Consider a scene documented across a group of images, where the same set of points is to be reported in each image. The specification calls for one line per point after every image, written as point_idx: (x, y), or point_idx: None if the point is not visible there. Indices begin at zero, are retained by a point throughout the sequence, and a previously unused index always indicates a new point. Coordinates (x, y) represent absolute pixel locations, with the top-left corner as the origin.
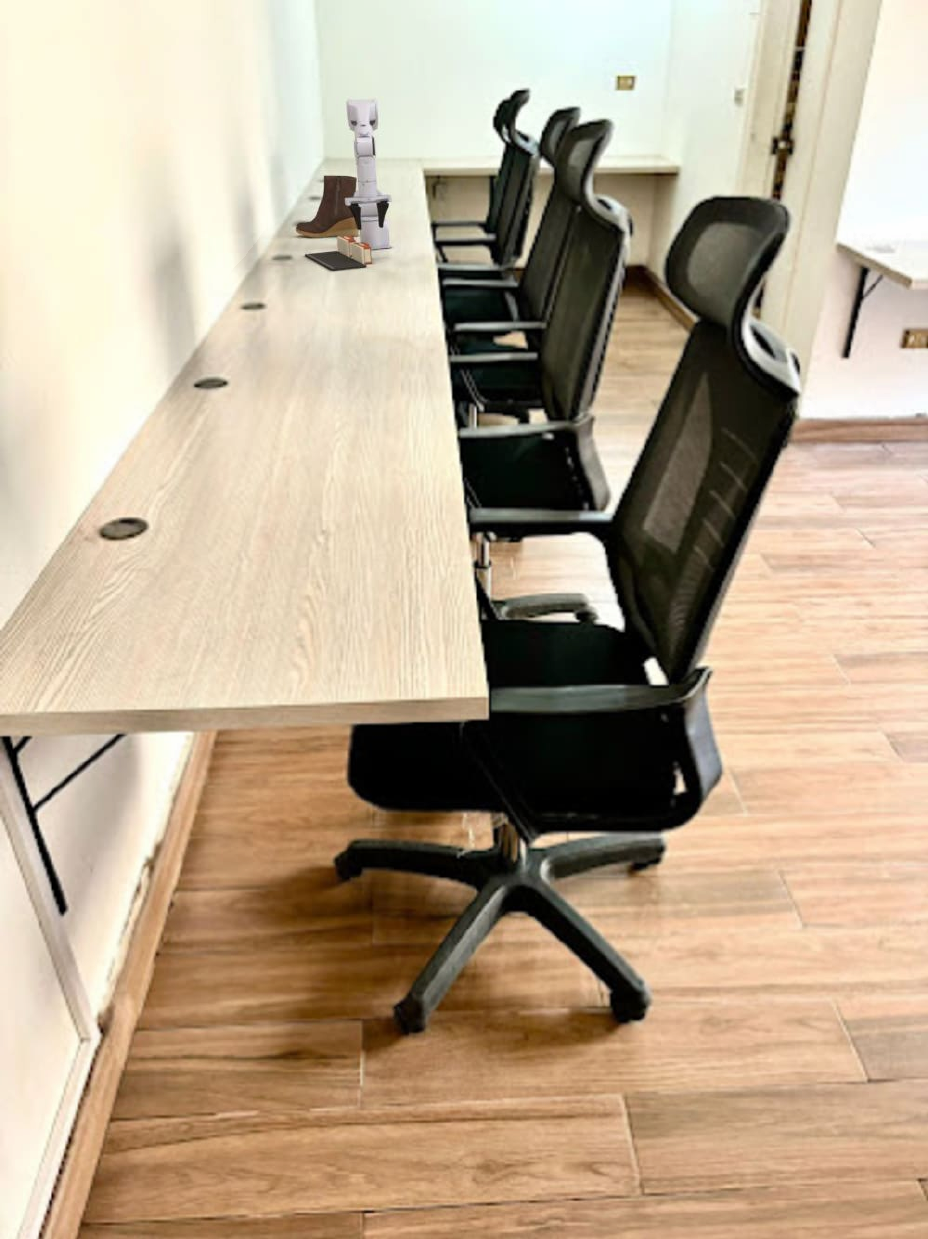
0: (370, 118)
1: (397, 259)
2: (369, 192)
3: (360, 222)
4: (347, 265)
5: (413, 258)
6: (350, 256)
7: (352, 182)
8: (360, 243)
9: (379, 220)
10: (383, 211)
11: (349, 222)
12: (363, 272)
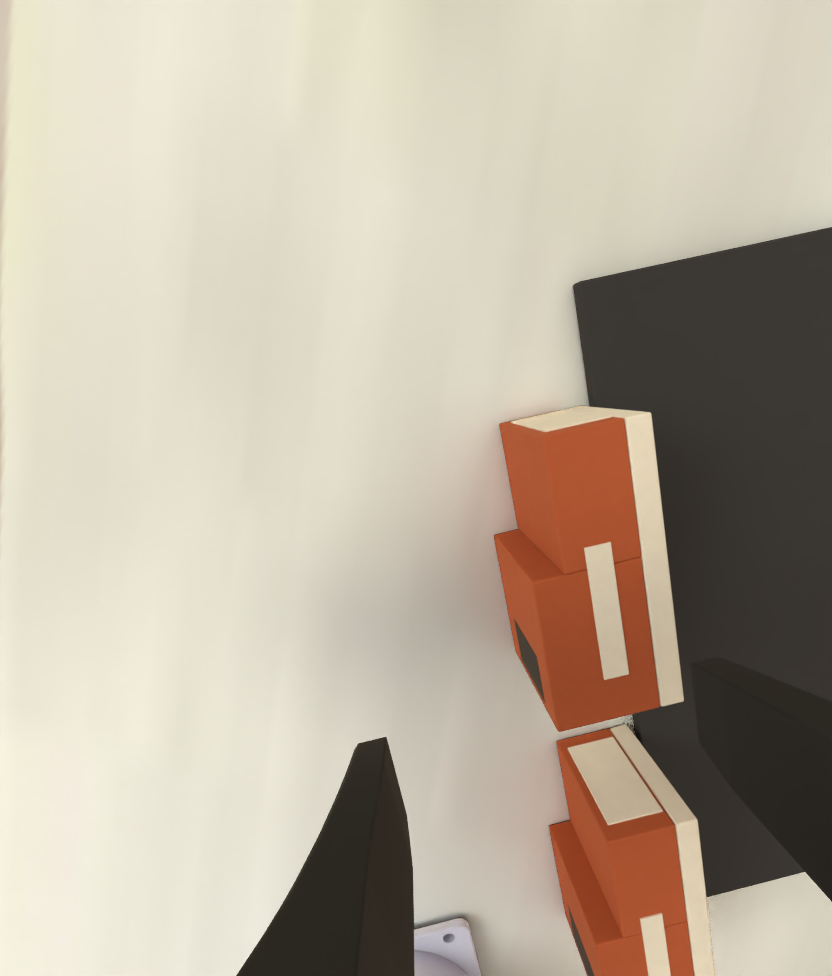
0: None
1: (265, 540)
2: None
3: (786, 704)
4: (724, 332)
5: (123, 540)
6: (606, 730)
7: None
8: (605, 655)
9: (402, 884)
10: (313, 974)
11: None
12: (638, 56)
